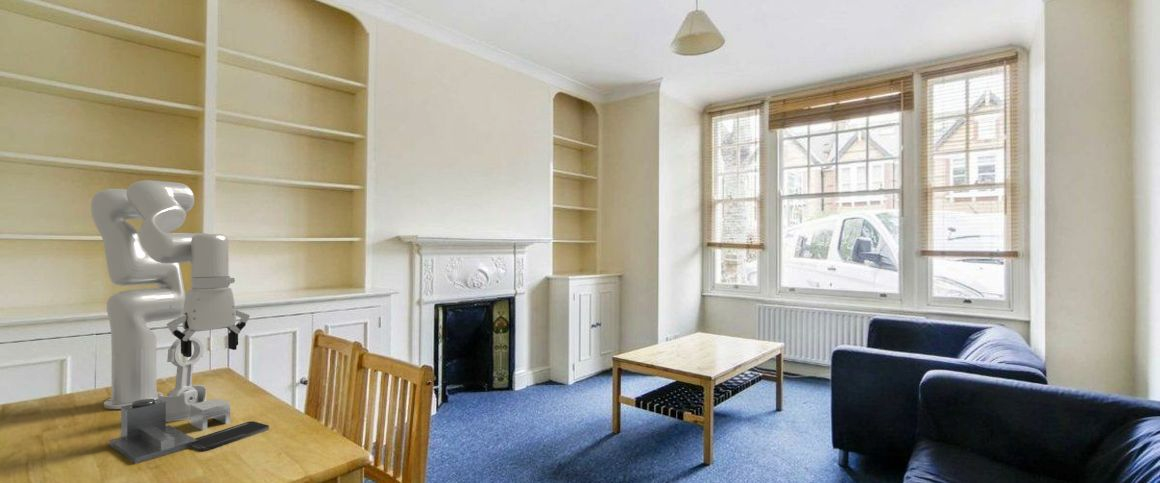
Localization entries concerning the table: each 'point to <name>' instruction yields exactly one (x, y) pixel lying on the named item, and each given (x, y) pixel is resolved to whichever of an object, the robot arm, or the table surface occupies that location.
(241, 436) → the phone
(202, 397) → the engine component
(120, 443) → the coupler
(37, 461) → the table surface
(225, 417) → the block
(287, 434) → the table surface
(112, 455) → the table surface
